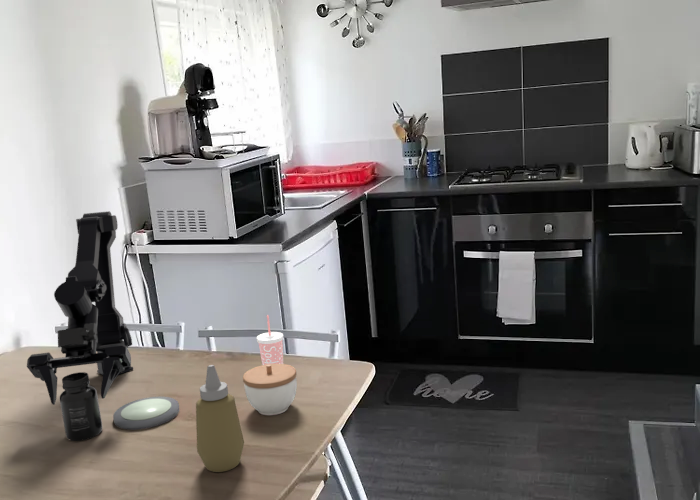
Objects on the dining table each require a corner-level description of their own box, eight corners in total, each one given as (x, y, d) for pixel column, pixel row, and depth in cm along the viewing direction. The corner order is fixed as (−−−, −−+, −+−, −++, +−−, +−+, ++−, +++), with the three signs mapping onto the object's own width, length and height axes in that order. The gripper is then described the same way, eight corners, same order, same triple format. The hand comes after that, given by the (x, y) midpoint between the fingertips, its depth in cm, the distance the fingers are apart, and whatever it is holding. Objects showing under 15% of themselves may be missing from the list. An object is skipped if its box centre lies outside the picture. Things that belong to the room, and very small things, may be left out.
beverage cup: (255, 376, 157) (249, 318, 154) (268, 367, 162) (262, 310, 160) (279, 379, 155) (272, 319, 152) (291, 369, 160) (285, 311, 157)
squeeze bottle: (202, 455, 122) (190, 360, 118) (247, 450, 122) (237, 355, 119) (196, 479, 114) (182, 377, 110) (244, 473, 115) (233, 372, 111)
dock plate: (158, 396, 150) (157, 390, 149) (191, 411, 141) (191, 404, 141) (102, 418, 141) (101, 412, 140) (134, 435, 132) (133, 429, 131)
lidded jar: (308, 410, 137) (304, 366, 135) (259, 425, 132) (254, 380, 130) (285, 393, 146) (281, 352, 144) (238, 407, 141) (233, 364, 139)
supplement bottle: (110, 427, 136) (101, 370, 134) (87, 443, 130) (77, 384, 128) (82, 424, 139) (73, 368, 136) (58, 440, 132) (48, 382, 130)
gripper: (21, 315, 133) (12, 390, 124) (120, 304, 135) (118, 377, 127) (39, 341, 142) (32, 413, 133) (132, 331, 145) (131, 400, 136)
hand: (78, 400), depth 132 cm, fingers open, 9 cm apart
